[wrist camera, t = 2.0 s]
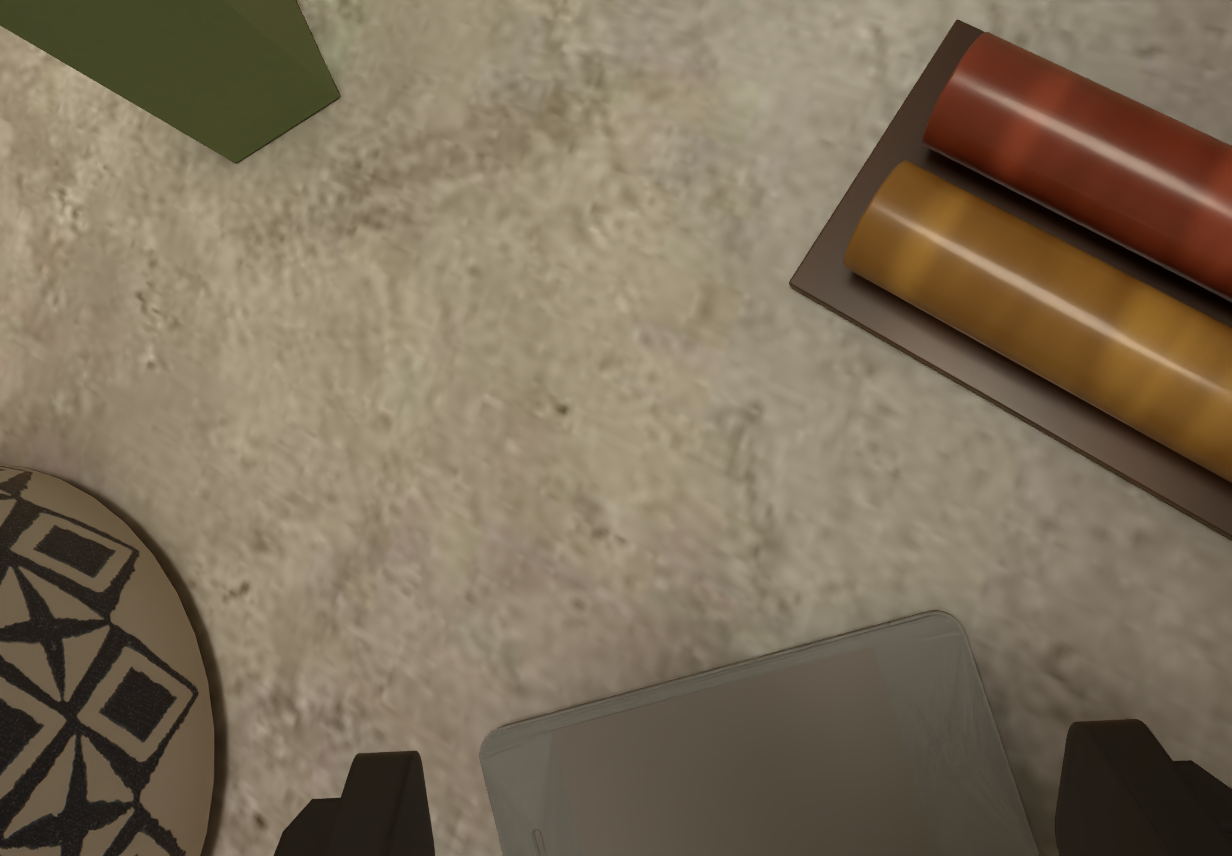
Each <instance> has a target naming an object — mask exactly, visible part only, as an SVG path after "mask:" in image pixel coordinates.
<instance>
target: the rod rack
mask: <svg viewBox="0 0 1232 856" xmlns="http://www.w3.org/2000/svg"><path fill="white" fill-rule="evenodd" d="M789 284H790V287H791V288H793V289H794V290H796V291H798V292H800V293H801V294H803V295H805V296H807V297H808V298H810V299H812V300H814V301H815V302H817V303H819V304H821V305H822V306H824V307H826V308H828V309H829V310H831V311H833V312H834V313H836V314H838V315H840V316H841V317H843V318H845V319H847V320H848V321H850V322H852V323H854V324H855V325H857V326H859V327H861V328H862V329H864V330H866V331H868V332H869V333H871V334H873V335H875V336H876V337H878V338H880V339H882V340H883V341H885V342H887V343H889V344H890V345H892V346H894V347H896V348H897V349H899V350H901V351H902V352H904V353H906V354H908V355H909V356H911V357H913V358H915V359H916V360H918V361H920V362H922V363H923V364H925V365H927V366H929V367H930V368H932V369H934V370H936V371H937V372H939V373H941V374H943V375H944V376H946V377H948V378H950V379H951V380H953V381H955V382H957V383H958V384H960V385H962V386H964V387H965V388H967V389H969V390H970V391H972V392H974V393H976V394H977V395H979V396H981V397H983V398H984V399H986V400H988V401H990V402H991V403H993V404H995V405H997V406H998V407H1000V408H1002V409H1004V410H1005V411H1007V412H1009V413H1011V414H1012V415H1014V416H1016V417H1018V418H1019V419H1021V420H1023V421H1025V422H1026V423H1028V424H1030V425H1032V426H1033V427H1035V428H1037V429H1038V430H1040V431H1042V432H1044V433H1045V434H1047V435H1049V436H1051V437H1052V438H1054V439H1056V440H1058V441H1059V442H1061V443H1063V444H1065V445H1066V446H1068V447H1070V448H1072V449H1073V450H1075V451H1077V452H1079V453H1080V454H1082V455H1084V456H1086V457H1087V458H1089V459H1091V460H1093V461H1094V462H1096V463H1098V464H1100V465H1101V466H1103V467H1105V468H1106V469H1108V470H1110V471H1112V472H1113V473H1115V474H1117V475H1119V476H1120V477H1122V478H1124V479H1126V480H1127V481H1129V482H1131V483H1133V484H1134V485H1136V486H1138V487H1140V488H1141V489H1143V490H1145V491H1147V492H1148V493H1150V494H1152V495H1154V496H1155V497H1157V498H1159V499H1161V500H1162V501H1164V502H1166V503H1167V504H1169V505H1171V506H1173V507H1174V508H1176V509H1178V510H1180V511H1181V512H1183V513H1185V514H1187V515H1188V516H1190V517H1192V518H1194V519H1195V520H1197V521H1199V522H1201V523H1202V524H1204V525H1206V526H1208V527H1209V528H1211V529H1213V530H1215V531H1216V532H1218V533H1220V534H1222V535H1223V536H1225V537H1227V538H1229V539H1230V540H1232V146H1231V145H1229V144H1227V143H1224V142H1222V141H1220V140H1218V139H1216V138H1214V137H1212V136H1209V135H1207V134H1205V133H1203V132H1201V131H1199V130H1197V129H1194V128H1192V127H1190V126H1188V125H1186V124H1184V123H1182V122H1179V121H1177V120H1175V119H1173V118H1171V117H1169V116H1167V115H1164V114H1162V113H1160V112H1158V111H1156V110H1154V109H1152V108H1149V107H1147V106H1145V105H1143V104H1141V103H1139V102H1137V101H1134V100H1132V99H1130V98H1128V97H1126V96H1124V95H1122V94H1119V93H1117V92H1115V91H1113V90H1111V89H1109V88H1107V87H1104V86H1102V85H1100V84H1098V83H1096V82H1094V81H1092V80H1089V79H1087V78H1085V77H1083V76H1081V75H1079V74H1077V73H1074V72H1072V71H1070V70H1068V69H1066V68H1064V67H1062V66H1059V65H1057V64H1055V63H1053V62H1051V61H1049V60H1047V59H1044V58H1042V57H1040V56H1038V55H1036V54H1034V53H1032V52H1029V51H1027V50H1025V49H1023V48H1021V47H1019V46H1017V45H1014V44H1012V43H1010V42H1008V41H1006V40H1004V39H1002V38H999V37H997V36H995V35H993V34H991V33H989V32H984V31H981V30H979V29H977V28H975V27H973V26H971V25H969V24H966V23H964V22H962V21H960V20H956V21H955V23H954V25H953V26H952V28H951V29H950V31H949V32H948V34H947V36H946V37H945V39H944V40H943V42H942V43H941V45H940V46H939V48H938V50H937V51H936V53H935V54H934V56H933V57H932V59H931V61H930V62H929V64H928V65H927V67H926V68H925V70H924V72H923V73H922V75H921V76H920V78H919V79H918V81H917V83H916V84H915V86H914V87H913V89H912V90H911V92H910V94H909V95H908V97H907V98H906V100H905V101H904V103H903V104H902V106H901V108H900V109H899V111H898V112H897V114H896V115H895V117H894V119H893V120H892V122H891V123H890V125H889V126H888V128H887V130H886V131H885V133H884V134H883V136H882V137H881V139H880V141H879V142H878V144H877V145H876V147H875V148H874V150H873V151H872V153H871V155H870V156H869V158H868V159H867V161H866V162H865V164H864V166H863V167H862V169H861V170H860V172H859V173H858V175H857V177H856V178H855V180H854V181H853V183H852V184H851V186H850V188H849V189H848V191H847V192H846V194H845V195H844V197H843V198H842V200H841V202H840V203H839V205H838V206H837V208H836V209H835V211H834V213H833V214H832V216H831V217H830V219H829V220H828V222H827V224H826V225H825V227H824V228H823V230H822V231H821V233H820V235H819V236H818V238H817V239H816V241H815V242H814V244H813V245H812V247H811V249H810V250H809V252H808V253H807V255H806V256H805V258H804V260H803V261H802V263H801V264H800V266H799V267H798V269H797V271H796V272H795V274H794V275H793V277H792V278H791V280H790V282H789Z"/></svg>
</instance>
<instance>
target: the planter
mask: <svg viewBox="0 0 1232 856" xmlns="http://www.w3.org/2000/svg"><path fill="white" fill-rule="evenodd" d="M213 784H214V724H213V717H212V709H211V701H210V693H209V685H208V680H207V676H206V672H205V669H204V665H203V661H202V658H201V654H200V650H199V647H198V643H197V639H196V636H195V633H194V631H193V629H192V626H191V624H190V622H189V620H188V617H187V615H186V613H185V610H184V608H183V606H182V603H181V601H180V599H179V596H178V594H177V592H176V590H175V589H174V587H173V586H172V584H171V582H170V581H169V579H168V578H167V576H166V574H165V573H164V571H163V570H162V568H161V566H160V565H159V563H158V562H157V560H156V558H155V557H154V555H153V554H152V553H151V552H150V551H149V549H148V548H147V547H146V546H145V545H144V544H143V543H142V541H141V540H140V539H139V538H138V537H137V536H136V535H135V533H134V532H133V531H132V530H131V529H130V528H129V527H128V525H127V524H126V523H125V522H123V521H122V520H121V519H120V518H118V517H117V516H116V515H115V514H113V513H112V512H111V511H110V510H109V509H107V508H106V507H105V506H104V505H102V504H101V503H100V502H99V501H97V500H96V499H95V498H93V497H92V496H90V495H88V494H86V493H85V492H83V491H81V490H79V489H77V488H75V487H73V486H72V485H70V484H68V483H66V482H64V481H62V480H61V479H59V478H56V477H53V476H50V475H46V474H43V473H40V472H37V471H34V470H31V469H27V468H24V467H18V466H9V465H0V856H200V855H201V851H202V848H203V844H204V840H205V837H206V833H207V828H208V820H209V813H210V806H211V799H212V792H213Z"/></svg>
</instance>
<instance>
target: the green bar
mask: <svg viewBox="0 0 1232 856" xmlns="http://www.w3.org/2000/svg"><path fill="white" fill-rule="evenodd" d="M0 26H2V27H4V28H6V29H7V30H9V31H11V32H12V33H14V34H16V35H18V36H19V37H21V38H23V39H24V40H26V41H28V42H29V43H31V44H33V45H35V46H36V47H38V48H40V49H41V50H43V51H45V52H47V53H48V54H50V55H52V56H53V57H55V58H57V59H58V60H60V61H62V62H64V63H65V64H67V65H69V66H70V67H72V68H74V69H76V70H77V71H79V72H81V73H82V74H84V75H86V76H87V77H89V78H91V79H93V80H94V81H96V82H98V83H99V84H101V85H103V86H104V87H106V88H108V89H110V90H111V91H113V92H115V93H116V94H118V95H120V96H122V97H123V98H125V99H127V100H128V101H130V102H132V103H133V104H135V105H137V106H139V107H140V108H142V109H144V110H145V111H147V112H149V113H151V114H152V115H154V116H156V117H157V118H159V119H161V120H162V121H164V122H166V123H168V124H169V125H171V126H173V127H174V128H176V129H178V130H180V131H181V132H183V133H185V134H186V135H188V136H190V137H191V138H193V139H195V140H197V141H198V142H200V143H202V144H203V145H205V146H207V147H209V148H210V149H212V150H214V151H215V152H217V153H219V154H220V155H222V156H224V157H226V158H227V159H229V160H231V161H232V162H234V163H237V162H239V161H240V160H242V159H243V158H245V157H246V156H248V155H250V154H251V153H253V152H254V151H256V150H257V149H259V148H261V147H262V146H264V145H265V144H267V143H268V142H270V141H272V140H273V139H275V138H276V137H278V136H279V135H281V134H282V133H284V132H286V131H287V130H289V129H290V128H292V127H293V126H295V125H297V124H298V123H300V122H301V121H303V120H304V119H306V118H308V117H309V116H311V115H312V114H314V113H315V112H317V111H319V110H320V109H322V108H323V107H325V106H326V105H328V104H329V103H331V102H333V101H334V100H336V99H337V98H339V97H340V95H339V93H338V91H337V89H336V86H335V84H334V82H333V80H332V78H331V76H330V73H329V71H328V69H327V67H326V65H325V63H324V60H323V58H322V56H321V54H320V52H319V50H318V47H317V45H316V43H315V41H314V39H313V37H312V34H311V32H310V30H309V28H308V26H307V24H306V21H305V19H304V17H303V15H302V13H301V11H300V9H299V6H298V4H297V2H296V0H0Z"/></svg>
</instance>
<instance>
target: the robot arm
mask: <svg viewBox="0 0 1232 856" xmlns="http://www.w3.org/2000/svg"><path fill="white" fill-rule="evenodd" d="M1055 836H1056V843H1057V848H1058V852H1059V856H1232V789H1231V788H1229V787H1228V786H1226V785H1225V784H1224V783H1222V782H1221V781H1219V780H1218V779H1217V778H1215V777H1214V776H1212V775H1211V774H1210V773H1208V772H1207V771H1205V770H1204V769H1203V768H1201V767H1200V766H1198V765H1197V764H1196V763H1194V762H1193V761H1191V760H1189V761H1173V760H1172V759H1171V758H1170V756H1169V755H1168V754H1167V752H1166V751H1165V750H1164V748H1163V747H1162V746H1161V744H1160V743H1159V742H1158V740H1157V739H1156V738H1155V736H1154V735H1153V734H1152V732H1151V731H1150V730H1149V728H1148V727H1147V726H1146V725H1145V724H1144V723H1143V722H1142V721H1140V720H1138V719H1125V720H1104V721H1083V722H1074V723H1073V724H1072V725H1071V726H1070V728H1069V730H1068V734H1067V739H1066V746H1065V753H1064V759H1063V766H1062V773H1061V780H1060V787H1059V794H1058V801H1057V808H1056V815H1055ZM274 856H435V849H434V840H433V834H432V827H431V820H430V814H429V807H428V800H427V794H426V787H425V780H424V774H423V767H422V761H421V757H420V755H419V753H418V751H400V752H379V753H359V754H357V755H356V756H355V758H354V760H353V762H352V765H351V768H350V771H349V774H348V777H347V780H346V783H345V786H344V790H343V793H342V796H341V798H326V799H312V800H311V801H310V802H309V803H308V804H307V806H306V807H305V808H304V809H303V810H302V811H301V812H300V813H299V814H298V816H297V817H296V818H295V819H294V820H293V821H292V822H291V823H290V824H289V826H288V827H287V828H286V829H285V830H284V831H283V833H282V836H281V838H280V841H279V843H278V846H277V849H276V851H275V854H274Z"/></svg>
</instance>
